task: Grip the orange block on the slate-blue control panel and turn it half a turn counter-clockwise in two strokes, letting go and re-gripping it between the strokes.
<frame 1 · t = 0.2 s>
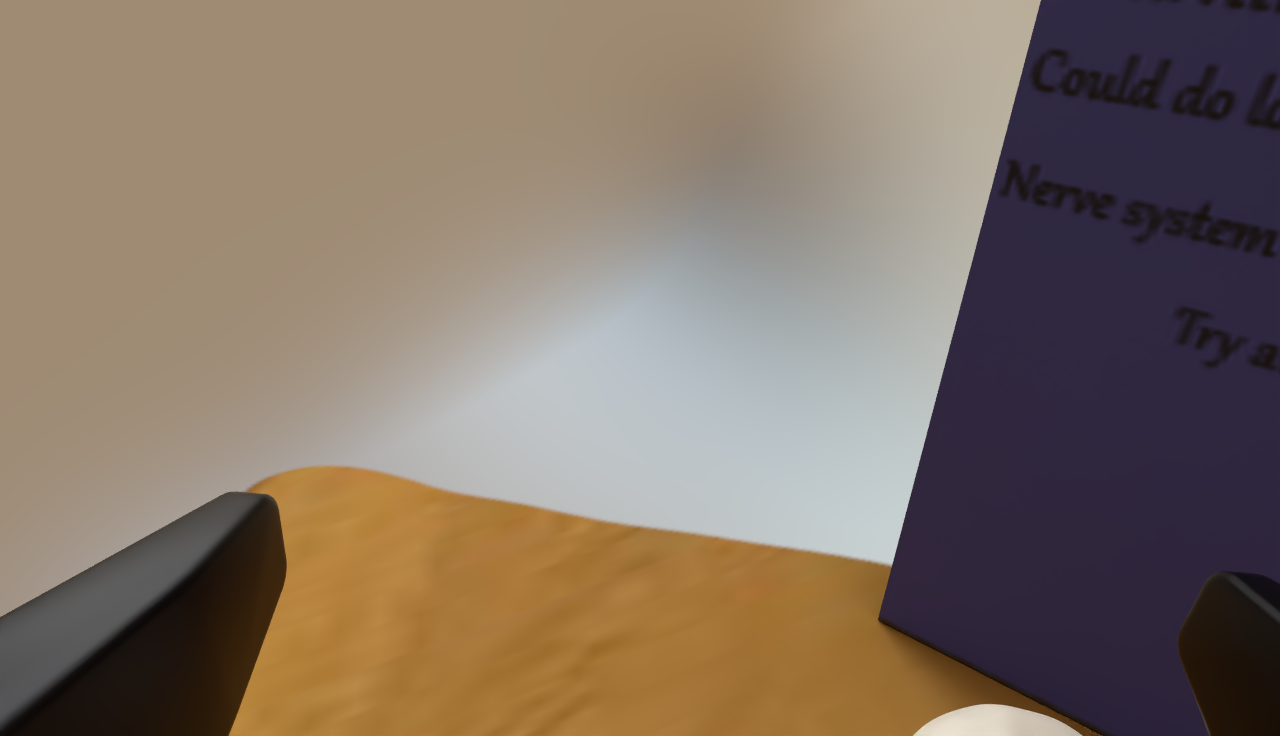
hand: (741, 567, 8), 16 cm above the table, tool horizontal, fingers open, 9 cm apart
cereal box: (1162, 710, 27), on the table
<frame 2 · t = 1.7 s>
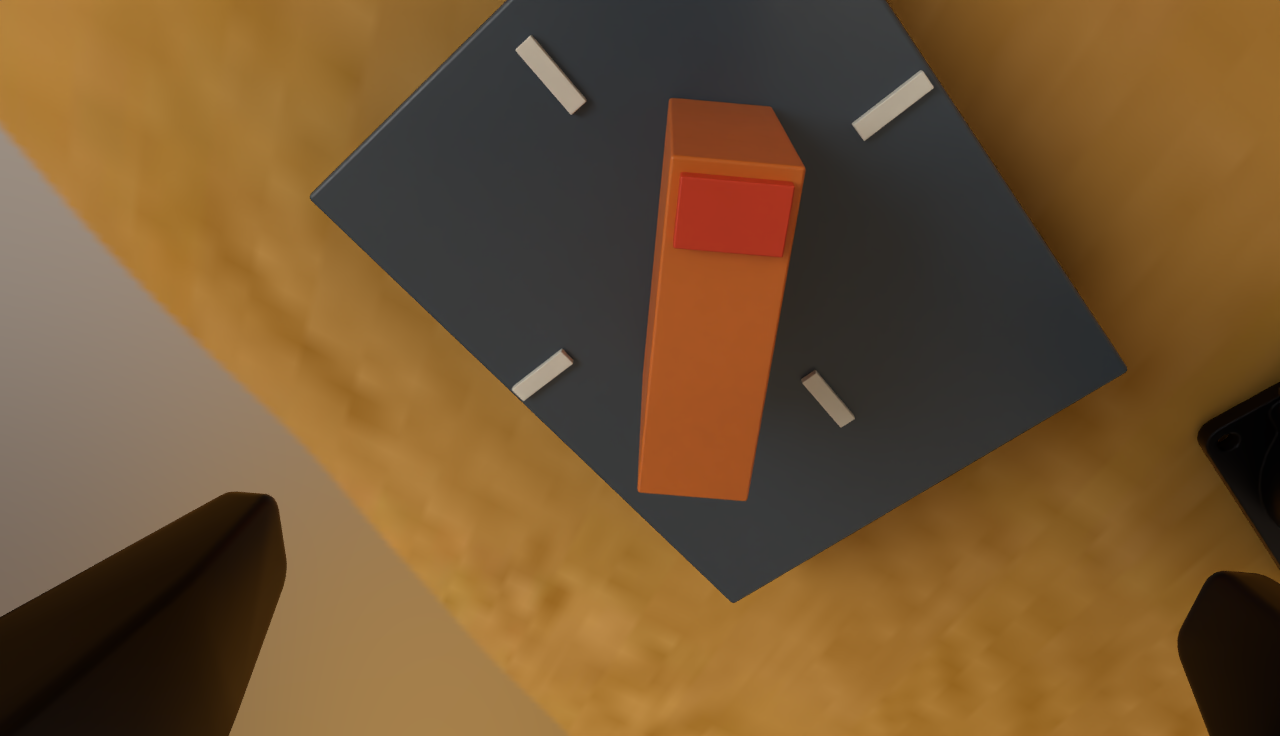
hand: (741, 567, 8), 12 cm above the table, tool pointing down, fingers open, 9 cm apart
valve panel: (724, 236, 19), on the table
orange block: (707, 296, 14), point 5 cm above the table, hinge at -45.0°
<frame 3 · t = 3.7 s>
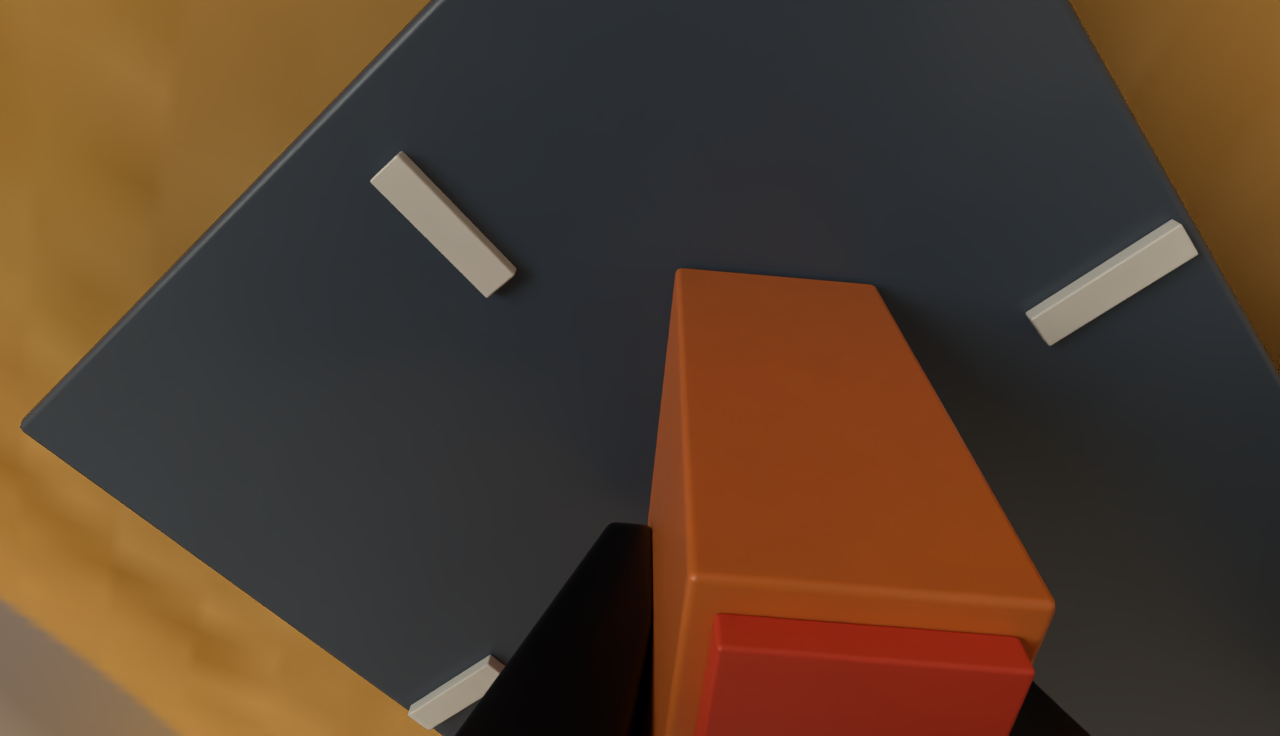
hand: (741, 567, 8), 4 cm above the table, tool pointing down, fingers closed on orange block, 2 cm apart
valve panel: (761, 425, 12), on the table
orange block: (753, 680, 7), point 5 cm above the table, hinge at -45.0°, touching gripper
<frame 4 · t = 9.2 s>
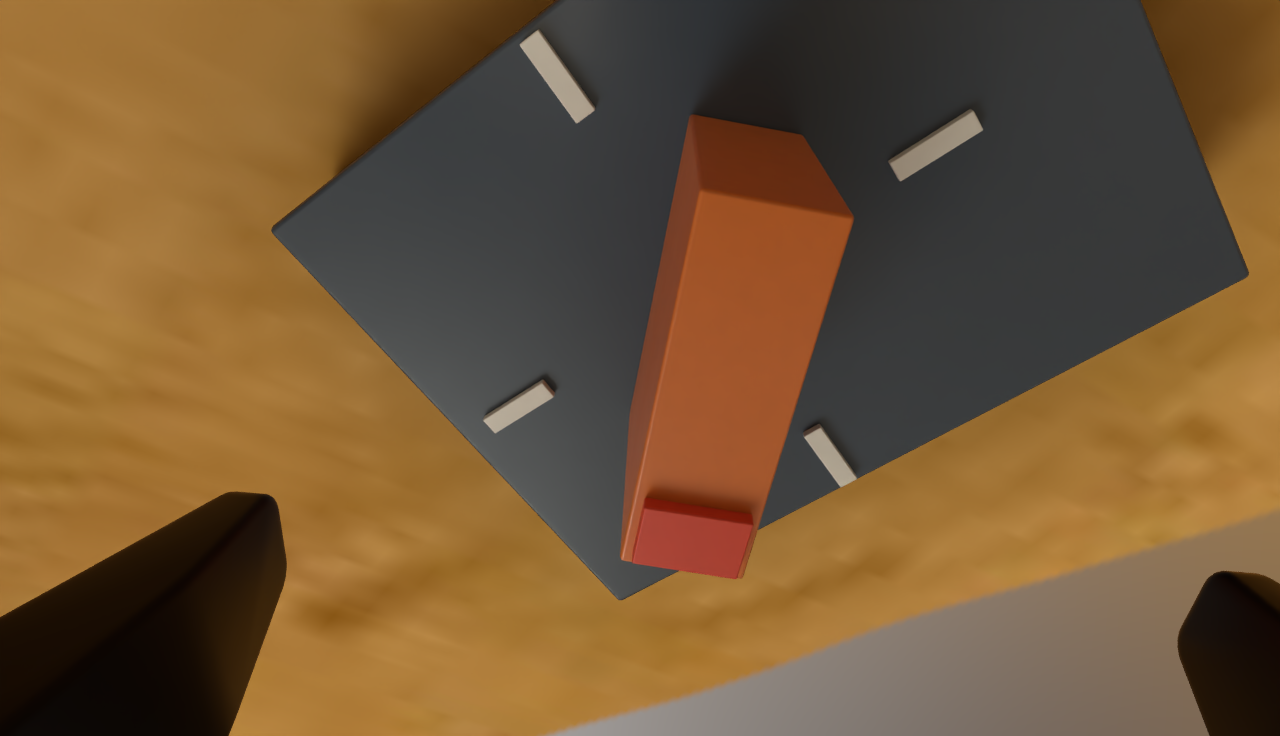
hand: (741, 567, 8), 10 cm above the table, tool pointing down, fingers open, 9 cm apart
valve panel: (744, 199, 17), on the table
orange block: (715, 342, 12), point 5 cm above the table, hinge at 44.7°
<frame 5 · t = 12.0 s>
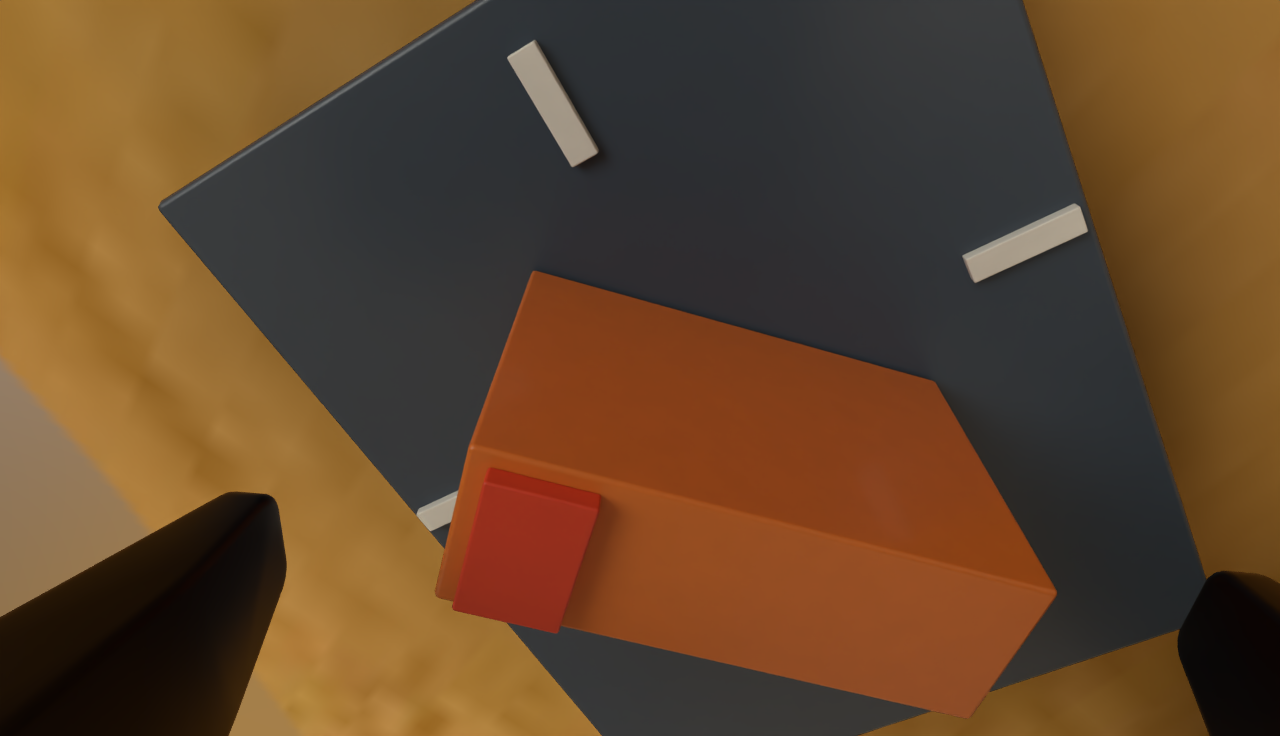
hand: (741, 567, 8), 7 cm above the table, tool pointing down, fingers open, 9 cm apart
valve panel: (733, 340, 14), on the table
orange block: (728, 476, 9), point 5 cm above the table, hinge at 44.7°
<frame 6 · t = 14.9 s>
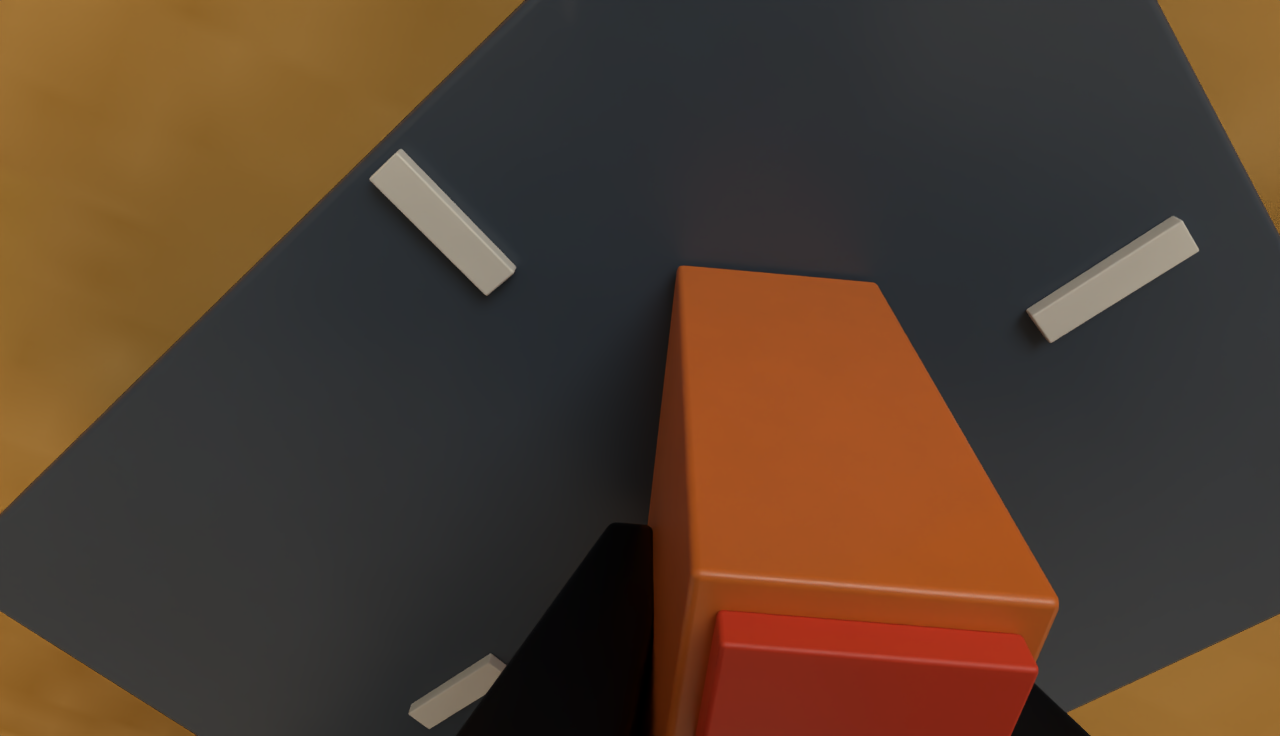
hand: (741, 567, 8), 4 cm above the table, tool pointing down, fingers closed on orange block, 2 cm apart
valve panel: (661, 415, 12), on the table
orange block: (754, 678, 7), point 5 cm above the table, hinge at 44.7°, touching gripper
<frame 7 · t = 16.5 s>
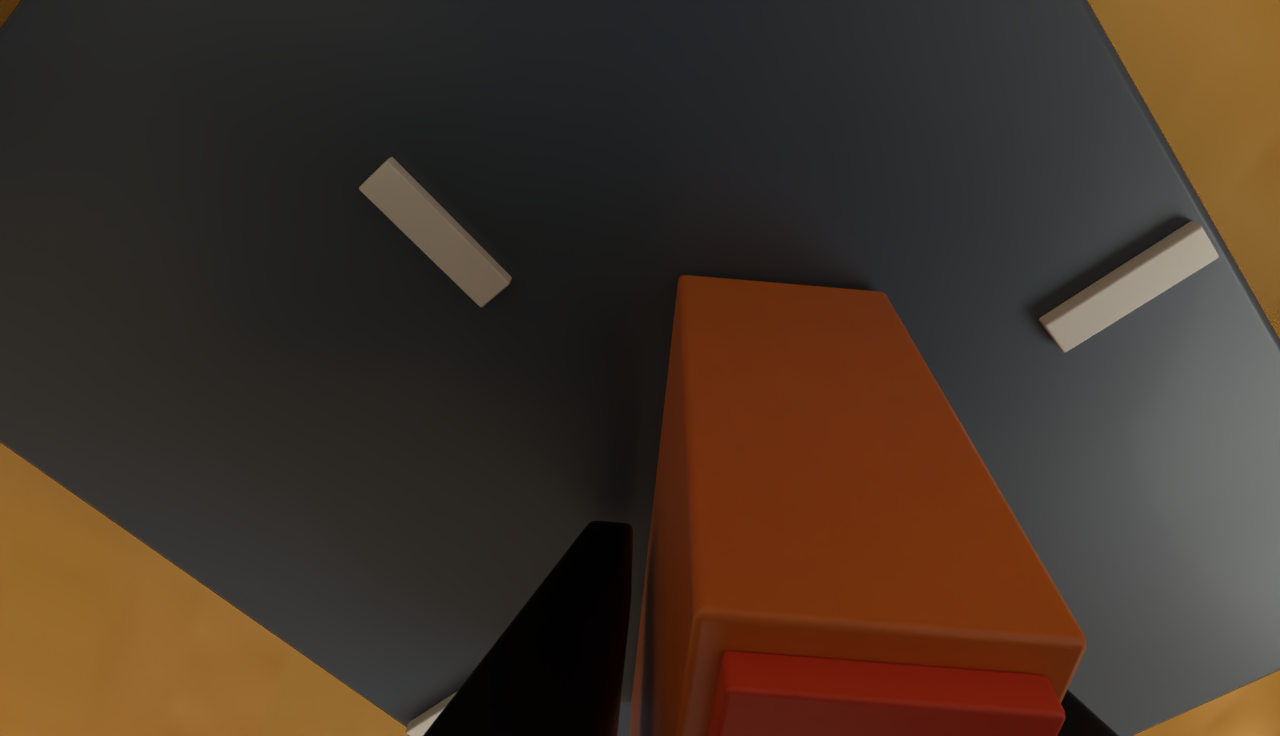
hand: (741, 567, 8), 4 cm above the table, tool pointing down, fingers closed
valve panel: (672, 331, 11), on the table
orange block: (760, 702, 7), point 5 cm above the table, hinge at 134.6°
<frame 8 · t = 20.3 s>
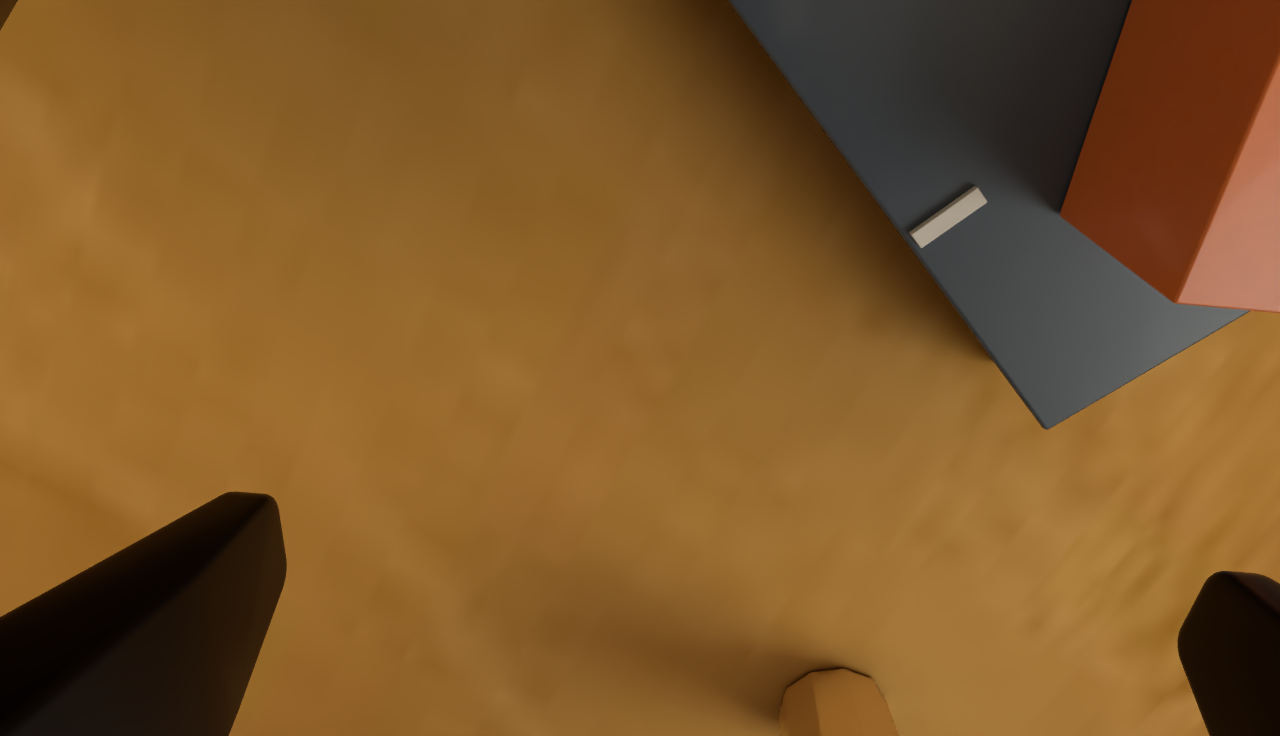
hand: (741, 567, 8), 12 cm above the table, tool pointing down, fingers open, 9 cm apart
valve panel: (1059, 0, 17), on the table
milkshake: (819, 694, 26), on the table
orange block: (1237, 88, 12), point 5 cm above the table, hinge at 134.6°
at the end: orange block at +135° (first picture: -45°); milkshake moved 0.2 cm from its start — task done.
